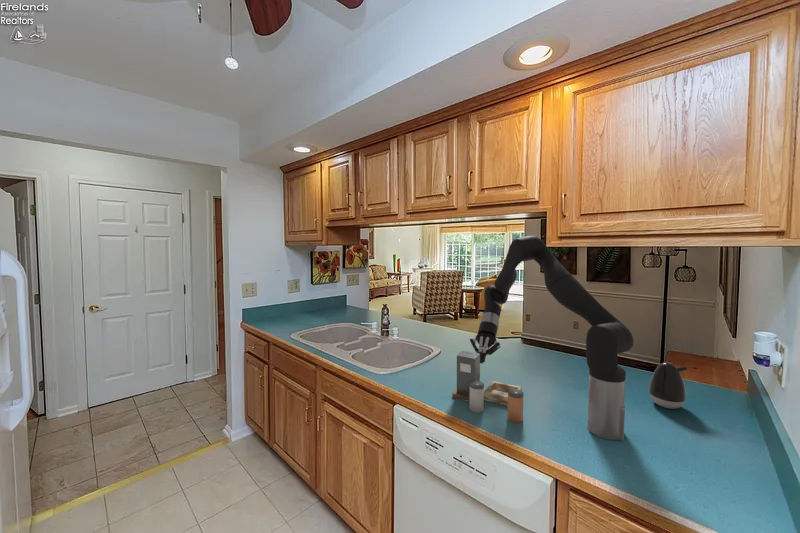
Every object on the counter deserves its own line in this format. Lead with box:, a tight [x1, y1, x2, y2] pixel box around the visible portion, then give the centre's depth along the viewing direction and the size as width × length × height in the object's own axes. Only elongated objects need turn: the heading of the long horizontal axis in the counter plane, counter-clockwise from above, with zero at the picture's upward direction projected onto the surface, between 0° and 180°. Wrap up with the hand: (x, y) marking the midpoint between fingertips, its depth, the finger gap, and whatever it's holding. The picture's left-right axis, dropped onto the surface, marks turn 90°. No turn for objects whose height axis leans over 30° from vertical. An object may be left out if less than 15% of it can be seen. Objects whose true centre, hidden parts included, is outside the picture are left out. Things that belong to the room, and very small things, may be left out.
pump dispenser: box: [648, 361, 688, 410], centre depth 115 cm, size 10×10×15 cm
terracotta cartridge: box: [507, 389, 525, 424], centre depth 107 cm, size 5×5×9 cm
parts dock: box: [484, 380, 522, 407], centre depth 122 cm, size 11×11×3 cm
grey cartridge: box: [468, 380, 485, 413], centre depth 114 cm, size 5×5×9 cm
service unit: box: [451, 350, 481, 402], centre depth 124 cm, size 9×10×16 cm
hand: (480, 362), depth 131 cm, fingers closed
